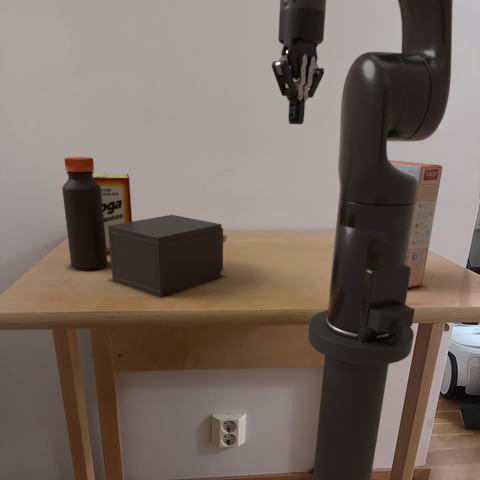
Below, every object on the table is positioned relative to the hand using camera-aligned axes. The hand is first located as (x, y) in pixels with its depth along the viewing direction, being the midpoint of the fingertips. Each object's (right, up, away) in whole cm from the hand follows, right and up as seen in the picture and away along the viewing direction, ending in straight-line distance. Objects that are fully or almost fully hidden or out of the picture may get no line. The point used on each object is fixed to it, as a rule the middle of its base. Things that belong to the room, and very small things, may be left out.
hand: (295, 124), depth 86 cm
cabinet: (-23, -27, +2) cm, 36 cm away
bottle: (-39, -24, +9) cm, 47 cm away
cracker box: (+17, -27, +5) cm, 32 cm away
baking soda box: (-38, -20, +20) cm, 47 cm away
